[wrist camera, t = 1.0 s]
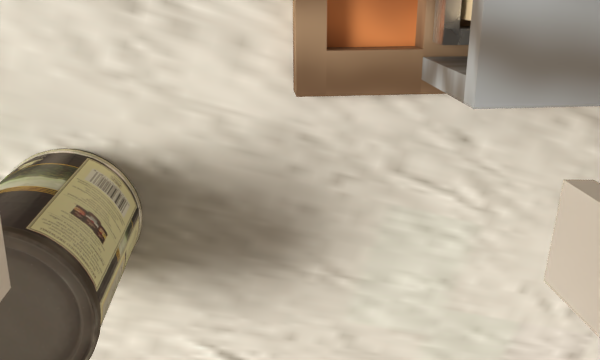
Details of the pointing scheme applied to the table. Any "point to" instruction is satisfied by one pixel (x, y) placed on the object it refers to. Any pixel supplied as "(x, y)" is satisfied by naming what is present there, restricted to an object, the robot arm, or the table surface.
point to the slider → (449, 24)
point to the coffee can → (63, 252)
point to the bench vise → (450, 52)
